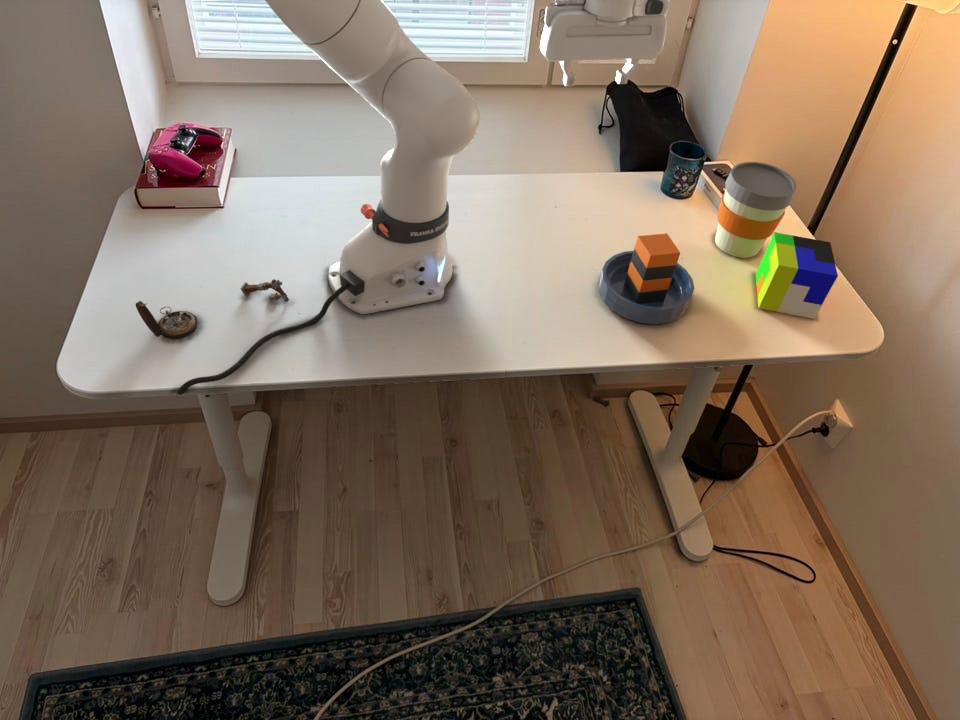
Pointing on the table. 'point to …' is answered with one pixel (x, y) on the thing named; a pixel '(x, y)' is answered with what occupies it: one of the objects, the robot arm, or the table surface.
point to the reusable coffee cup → (752, 207)
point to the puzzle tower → (651, 268)
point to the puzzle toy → (795, 275)
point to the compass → (169, 322)
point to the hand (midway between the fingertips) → (594, 83)
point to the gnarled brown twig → (265, 286)
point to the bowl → (650, 313)
